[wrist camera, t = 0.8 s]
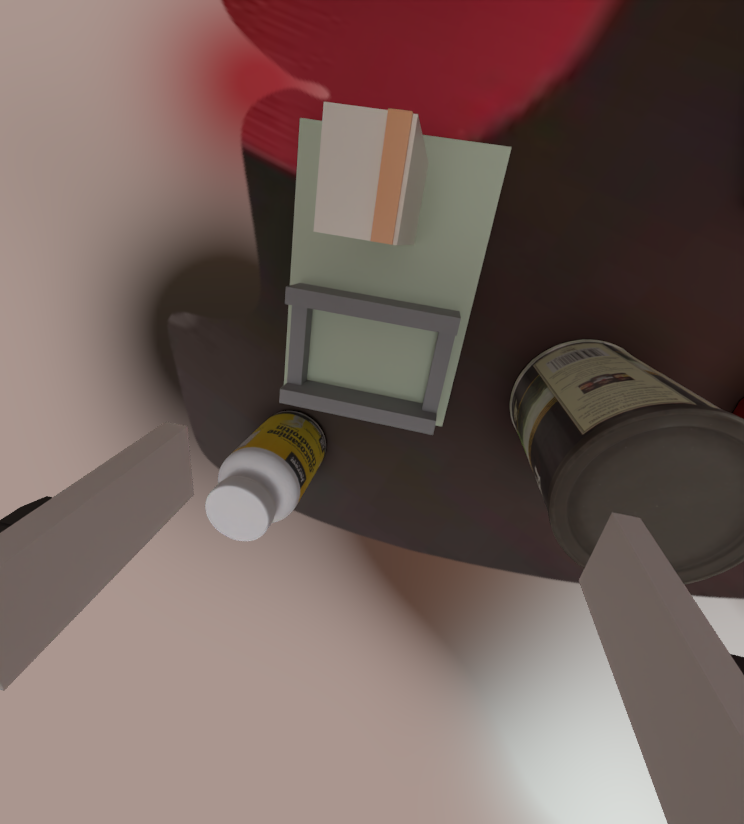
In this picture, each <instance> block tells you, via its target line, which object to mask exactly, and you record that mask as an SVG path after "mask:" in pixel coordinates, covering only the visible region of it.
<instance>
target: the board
mask: <svg viewBox="0 0 744 824" xmlns="http://www.w3.org/2000/svg"><path fill="white" fill-rule="evenodd" d="M321 130H322V121H319V120H312V119H305V118H300V124H299V141H298V158H297V175H296V191H295V208H294V225H293V241H292V258H291V275H290V286H286V292H285V304H288V305H289V308H288V325H287V342H286V358H285V375H284V386H283V387H282V388H280V399H279V403H283V404H288V405H293V406H297V407H302V408H307V409H312V410H316V411H321V412H326V413H331V414H335V415H340V416H345V417H350V418H354V419H359V420H364V421H369V422H373V423H378V424H383V425H388V426H392V427H397V428H402V429H406V430H411V431H416V432H421V433H425V434H430V435H433V432H434V428H435V425H437V426H442V425H443V421H444V417H445V413H446V409H447V405H448V401H449V397H450V393H451V389H452V385H453V381H454V377H455V373H456V369H457V365H458V361H459V357H460V353H461V349H462V345H463V341H464V337H465V333H466V329H467V325H468V321H469V317H470V312H471V308H472V304H473V300H474V296H475V292H476V288H477V284H478V280H479V276H480V272H481V268H482V264H483V260H484V256H485V252H486V248H487V244H488V240H489V236H490V232H491V228H492V224H493V220H494V216H495V212H496V208H497V204H498V200H499V196H500V192H501V188H502V184H503V180H504V176H505V172H506V168H507V164H508V160H509V156H510V152H511V148H512V147H507V146H500V145H493V144H486V143H479V142H471V141H464V140H457V139H450V138H442V137H435V136H428V135H423V139H424V144H425V149H426V153H427V158H428V162H429V164H428V170H427V176H426V181H425V187H424V192H423V198H422V204H421V209H420V215H419V220H418V226H417V232H416V237H415V243H414V245H390V244H384V243H378V242H372V241H367V240H361V239H355V238H349V237H343V236H337V235H331V234H325V233H319V232H313V231H314V218H315V206H316V193H317V181H318V168H319V155H320V143H321Z"/></svg>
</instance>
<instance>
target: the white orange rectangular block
mask: <svg viewBox="0 0 744 824" xmlns="http://www.w3.org/2000/svg"><path fill="white" fill-rule="evenodd" d="M428 164H429V162H428V158H427V153H426V149H425V144H424V139H423V135H422V130H421V126H420V121H419V116H418V114H413V111H406V110H399V109H391V108H388V110H383V109H375V108H368V107H360V106H353V105H345V104H338V103H330V102H324V105H323V118H322V130H321V143H320V155H319V168H318V181H317V193H316V206H315V218H314V231H313V232H319V233H325V234H331V235H337V236H343V237H349V238H355V239H361V240H367V241H372V242H378V243H384V244H390V245H414V243H415V237H416V232H417V226H418V220H419V215H420V209H421V204H422V198H423V192H424V187H425V181H426V176H427V170H428Z"/></svg>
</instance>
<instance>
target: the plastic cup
mask: <svg viewBox="0 0 744 824" xmlns="http://www.w3.org/2000/svg"><path fill="white" fill-rule="evenodd" d="M732 414H735V415H737V416H739V417H741V418H743V419H744V398H743V399H742V400H741V401H740V402H739V404H738V405H737V407H736V408H735V410H734V412H733V413H732Z"/></svg>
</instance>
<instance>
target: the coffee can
mask: <svg viewBox="0 0 744 824" xmlns="http://www.w3.org/2000/svg"><path fill="white" fill-rule="evenodd" d="M510 415H511V419H512V422H513V425H514V427H515V429H516V431H517V433H518V435H519V437H520V440H521V443H522V445H523V447H524V450H525V452H526V455H527V457H528V460H529V463H530V466H531V468H532V471H533V473H534V476H535V479H536V481H537V484H538V487H539V489H540V492H541V495H542V497H543V500H544V502H545V505H546V507H547V510H548V516H549V521H550V524H551V528H552V530H553V533H554V535H555V538H556V540H557V541H558V543H559V545H560V546H561V547H562V549H563V550H564V551H565V553H566V554H567V555H568V556H569V557H570V558H571V559H573V560H574V561H575V562H576V563H577V564H578V565H580V566H581V567H583V568H584V569H585V567H586V565H587V562H588V560H589V558H590V556H591V554H592V552H593V550H594V548H595V546H596V544H597V542H598V540H599V538H600V536H601V534H602V532H603V530H604V528H605V526H606V524H607V522H608V520H609V517H610V515H611V513H612V512H613V513H618V514H623V515H628V516H633V517H638V518H640V519H641V520H642V522H643V523H644V525H645V526H646V528H647V529H648V531H649V532H650V534H651V535H652V537H653V538H654V540H655V541H656V543H657V544H658V546H659V547H660V549H661V550H662V552H663V553H664V555H665V556H666V558H667V559H668V561H669V563H670V564H671V566H672V567H673V569H674V570H675V572H676V573H677V575H678V576H679V578H680V579H681V581H682V582H683V584H689V583H693V582H697V581H701V580H704V579H707V578H710V577H712V576H715V575H718V574H720V573H723V572H725V571H727V570H729V569H731V568H733V567H735V566H736V565H738V564H740V563H741V562H743V561H744V419H743V418H741V417H739V416H737V415H735V414H732V413H730V412H727V411H725V410H722V409H720V408H718V407H717V406H715V405H713V404H712V403H710V402H708V401H707V400H705V399H703V398H702V397H700V396H698V395H697V394H695V393H693V392H692V391H690V390H688V389H687V388H685V387H683V386H682V385H680V384H678V383H677V382H675V381H673V380H672V379H670V378H668V377H667V376H665V375H664V374H662V373H660V372H658V371H656V370H655V369H653V368H651V367H650V366H648V365H646V364H645V363H643V362H641V361H640V360H638V359H636V358H635V357H633V356H632V355H631V354H629V353H628V352H627V351H625V350H624V349H622V348H621V347H619V346H617V345H615V344H612V343H609V342H605V341H600V340H592V339H587V340H586V339H582V340H575V341H569V342H566V343H562V344H559V345H556V346H554V347H552V348H550V349H548V350H546V351H544V352H543V353H541V354H540V355H538V356H537V357H536V358H534V359H533V360H532V361H531V362H530V363H529V364H528V365H527V366H526V367H525V368H524V369H523V371H522V372H521V373H520V375H519V376H518V378H517V380H516V382H515V384H514V387H513V389H512V393H511V397H510Z"/></svg>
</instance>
